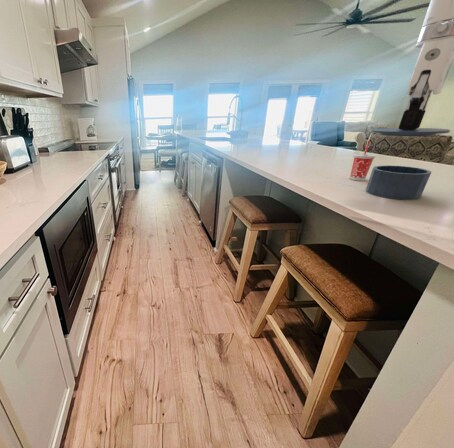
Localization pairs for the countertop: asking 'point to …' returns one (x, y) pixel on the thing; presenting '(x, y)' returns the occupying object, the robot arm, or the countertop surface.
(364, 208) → the countertop surface
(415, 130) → the pot lid
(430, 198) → the countertop surface
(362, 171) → the beverage cup
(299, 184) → the countertop surface
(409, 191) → the pot
